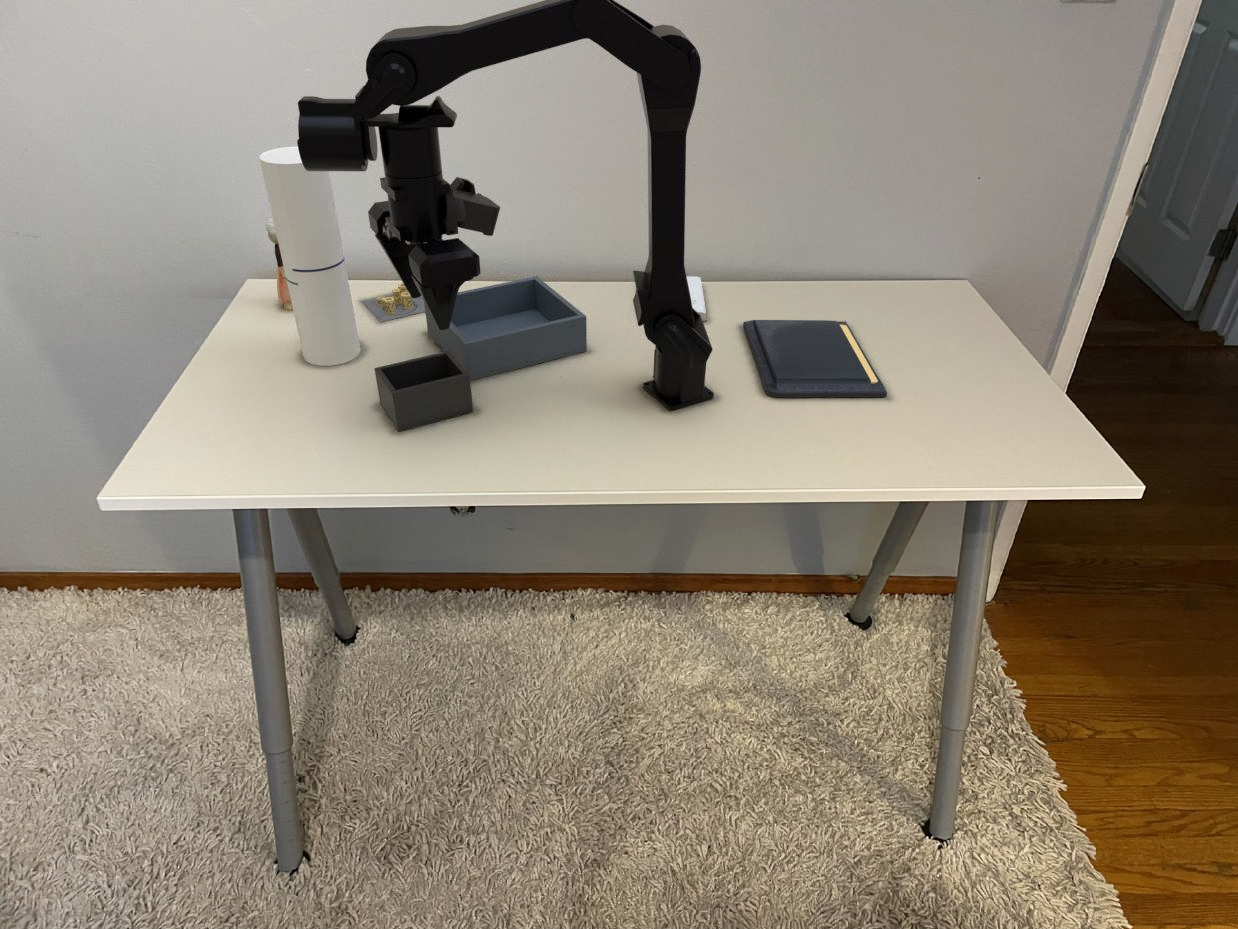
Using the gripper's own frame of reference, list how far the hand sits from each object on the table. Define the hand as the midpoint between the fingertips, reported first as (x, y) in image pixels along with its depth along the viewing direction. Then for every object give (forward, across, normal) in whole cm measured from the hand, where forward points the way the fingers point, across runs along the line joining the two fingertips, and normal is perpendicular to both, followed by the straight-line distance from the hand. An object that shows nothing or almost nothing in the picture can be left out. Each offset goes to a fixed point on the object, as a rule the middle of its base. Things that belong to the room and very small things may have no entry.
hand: (429, 312), depth 94 cm
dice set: (+11, +28, -4) cm, 30 cm away
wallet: (+11, -13, -46) cm, 49 cm away
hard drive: (+11, +10, -40) cm, 42 cm away
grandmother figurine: (+11, +34, +10) cm, 37 cm away
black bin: (+11, -2, +2) cm, 11 cm away
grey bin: (+11, +10, -13) cm, 19 cm away
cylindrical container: (+11, +17, +8) cm, 22 cm away
